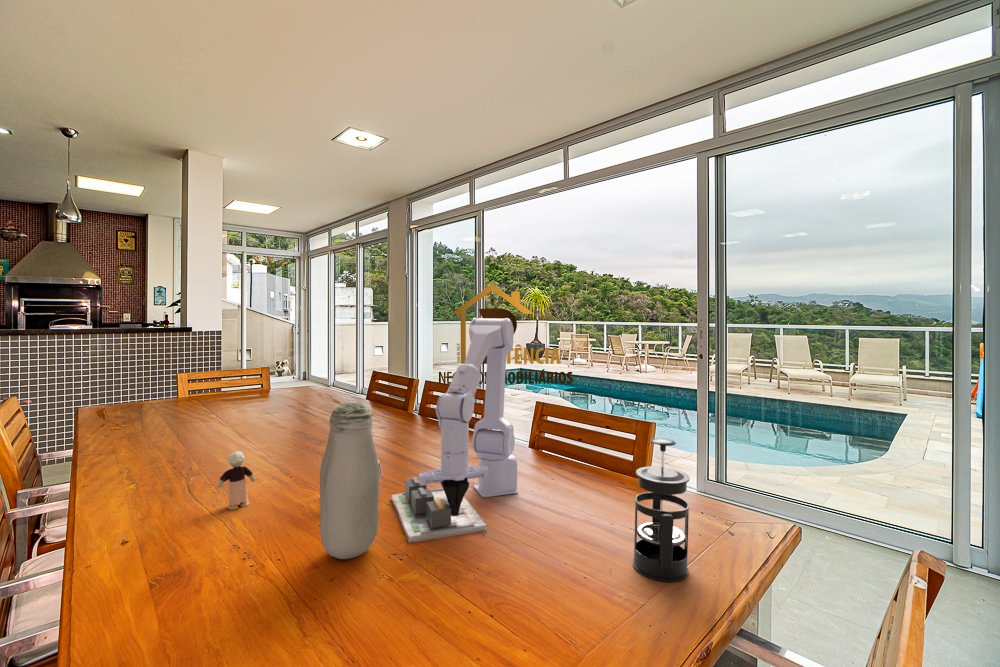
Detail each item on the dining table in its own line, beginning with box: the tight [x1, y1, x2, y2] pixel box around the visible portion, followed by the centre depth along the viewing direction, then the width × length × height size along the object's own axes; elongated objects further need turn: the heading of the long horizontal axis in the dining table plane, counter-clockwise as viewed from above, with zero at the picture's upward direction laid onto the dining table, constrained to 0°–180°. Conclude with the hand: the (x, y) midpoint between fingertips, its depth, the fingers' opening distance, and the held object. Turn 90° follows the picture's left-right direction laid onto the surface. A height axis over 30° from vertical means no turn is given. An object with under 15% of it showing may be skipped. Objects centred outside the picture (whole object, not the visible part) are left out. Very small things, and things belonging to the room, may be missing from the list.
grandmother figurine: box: [216, 450, 257, 511], centre depth 107 cm, size 8×4×13 cm, turn 145°
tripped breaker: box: [426, 499, 451, 528], centre depth 97 cm, size 4×5×4 cm
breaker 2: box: [411, 488, 434, 515], centre depth 104 cm, size 4×5×4 cm
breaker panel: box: [391, 487, 487, 544], centre depth 105 cm, size 16×23×2 cm
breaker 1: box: [404, 476, 427, 502], centre depth 111 cm, size 4×5×4 cm
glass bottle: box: [319, 402, 380, 560], centre depth 86 cm, size 10×10×28 cm
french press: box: [632, 437, 691, 583], centre depth 82 cm, size 12×9×23 cm
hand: (454, 514), depth 99 cm, fingers closed
